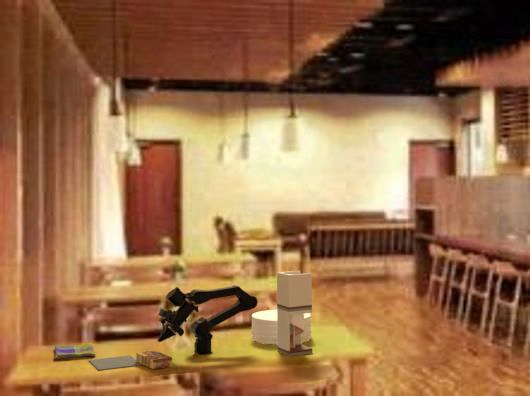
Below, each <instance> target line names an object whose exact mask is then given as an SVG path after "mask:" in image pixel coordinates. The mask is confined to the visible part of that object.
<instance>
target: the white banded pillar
mask: <svg viewBox="0 0 530 396" xmlns="http://www.w3.org/2000/svg"><path fill="white" fill-rule="evenodd" d="M312 276H313V275H312V272H307V273H306V272H305V273H301V270H292V271H291V270H290V271H277V272H276V297H277V298H276V301H277V302H276V304H277V305H276V310H277V325H278V345H277V352H278V353H280V352H281V354H283V355H286V356H288V357H294V356H295V355H296V356H301V355H302V354H303V355H308V354H309V353H310V354H313V348H312V347H309V346H307V345H304V344H303V343H301V334H302V333H303V332H304V314H305V313H310V314H311V313H313V299H312V298H313V292H312V291H313V289H312V288H313V287H312V286H313V285H312V279H313V278H312Z"/></svg>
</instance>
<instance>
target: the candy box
mask: <svg viewBox="0 0 530 396" xmlns="http://www.w3.org/2000/svg"><path fill="white" fill-rule="evenodd" d="M135 354H136V355H135V356H136V358H135V359H136V362H138V363H140V364H142V365H143V366H145V367H147V368H150V369H151V370H154V369H155V370H156V369H163V368H172V367H173V361H172V360H173V358H172V356H169V355H167V354H165V353H161V352H159V351H157V350H149V351H147V350H146V351H139V352H138V351H137V352H136V353H135Z"/></svg>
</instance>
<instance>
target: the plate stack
mask: <svg viewBox="0 0 530 396" xmlns="http://www.w3.org/2000/svg"><path fill="white" fill-rule="evenodd" d="M311 317H312V314H311V313H305V314H304V332H303V333H302V334H301V342H305V341H308V340H310V339H312V336H311V334H312V331H311V330H312V325H311V323H312V319H311ZM252 339H253V340H254V341H256V342H255V343H257V342H258V343H257V344H261V343H264V344H263V345H267V344H276V345H275V346H278V325H277V309H270V310H269V309H268V310H260V311H257V312H254V313H252V314H251V340H252ZM253 340H252V341H253ZM254 341H253V342H254ZM310 341H311V340H310ZM308 342H309V341H308ZM305 343H306V342H305Z"/></svg>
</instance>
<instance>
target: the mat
mask: <svg viewBox="0 0 530 396" xmlns="http://www.w3.org/2000/svg"><path fill="white" fill-rule="evenodd" d="M88 362H89V363H90V364H91V365H92V366H93V368H95V369H96V370H97V371H98V372H99V371H106V370H113V369H123V368H124V369H125V368H131V366H132V367H138V366H142V365H143V364H140V363H138V362H136V358H134V357H133V356H132V355H129V354H128V355H122V356H120V355H119V356H112V357H111V356H110V357H103V358H92V359H89V360H88Z"/></svg>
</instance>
